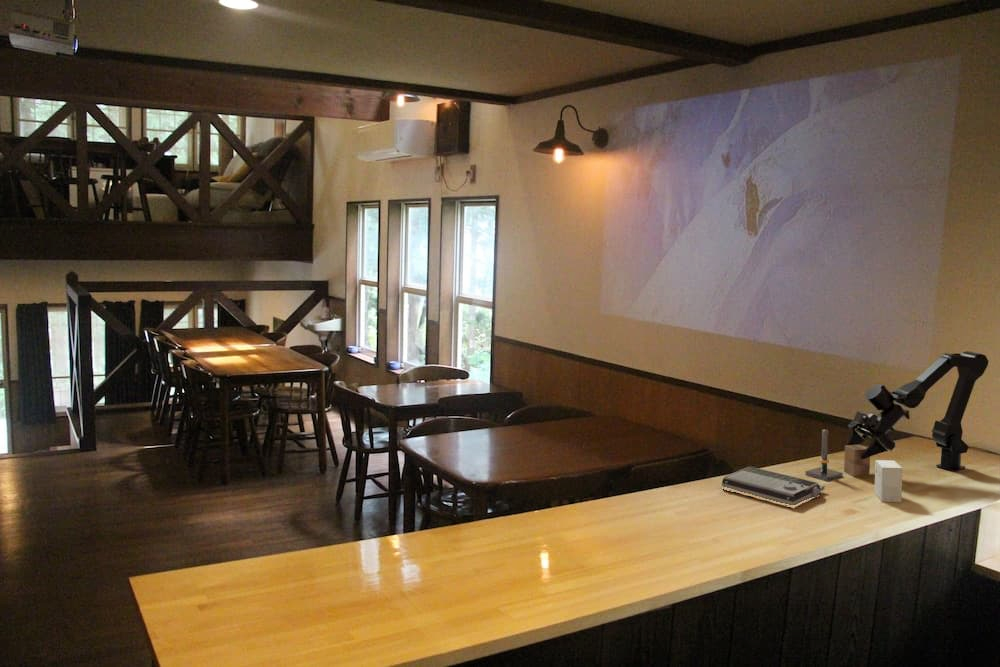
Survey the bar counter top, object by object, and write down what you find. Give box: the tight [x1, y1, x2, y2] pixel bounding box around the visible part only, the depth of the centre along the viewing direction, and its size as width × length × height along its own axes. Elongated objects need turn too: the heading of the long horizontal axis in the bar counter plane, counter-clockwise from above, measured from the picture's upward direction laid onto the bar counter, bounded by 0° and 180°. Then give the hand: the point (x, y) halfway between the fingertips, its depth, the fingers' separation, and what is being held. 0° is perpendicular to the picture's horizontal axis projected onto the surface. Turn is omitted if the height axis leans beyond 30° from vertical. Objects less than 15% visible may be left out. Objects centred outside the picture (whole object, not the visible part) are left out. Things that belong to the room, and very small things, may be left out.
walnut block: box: [843, 444, 871, 478], centre depth 256 cm, size 6×6×9 cm
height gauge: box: [805, 429, 843, 482], centre depth 255 cm, size 8×8×15 cm
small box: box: [874, 459, 903, 503], centre depth 234 cm, size 8×6×10 cm
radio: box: [721, 466, 825, 505], centre depth 242 cm, size 24×5×20 cm
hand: (853, 454), depth 256 cm, fingers open, 9 cm apart
